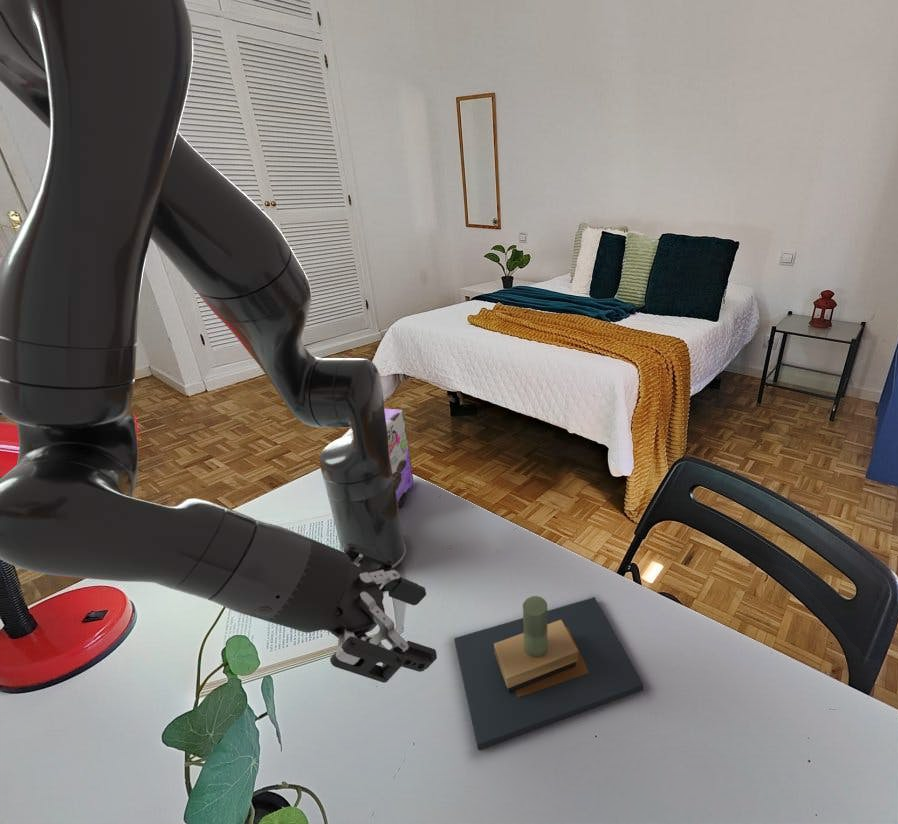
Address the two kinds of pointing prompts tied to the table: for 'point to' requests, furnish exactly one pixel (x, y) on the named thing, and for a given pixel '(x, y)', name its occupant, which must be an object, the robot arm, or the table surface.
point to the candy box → (397, 451)
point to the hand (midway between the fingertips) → (426, 626)
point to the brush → (535, 648)
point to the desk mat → (556, 697)
